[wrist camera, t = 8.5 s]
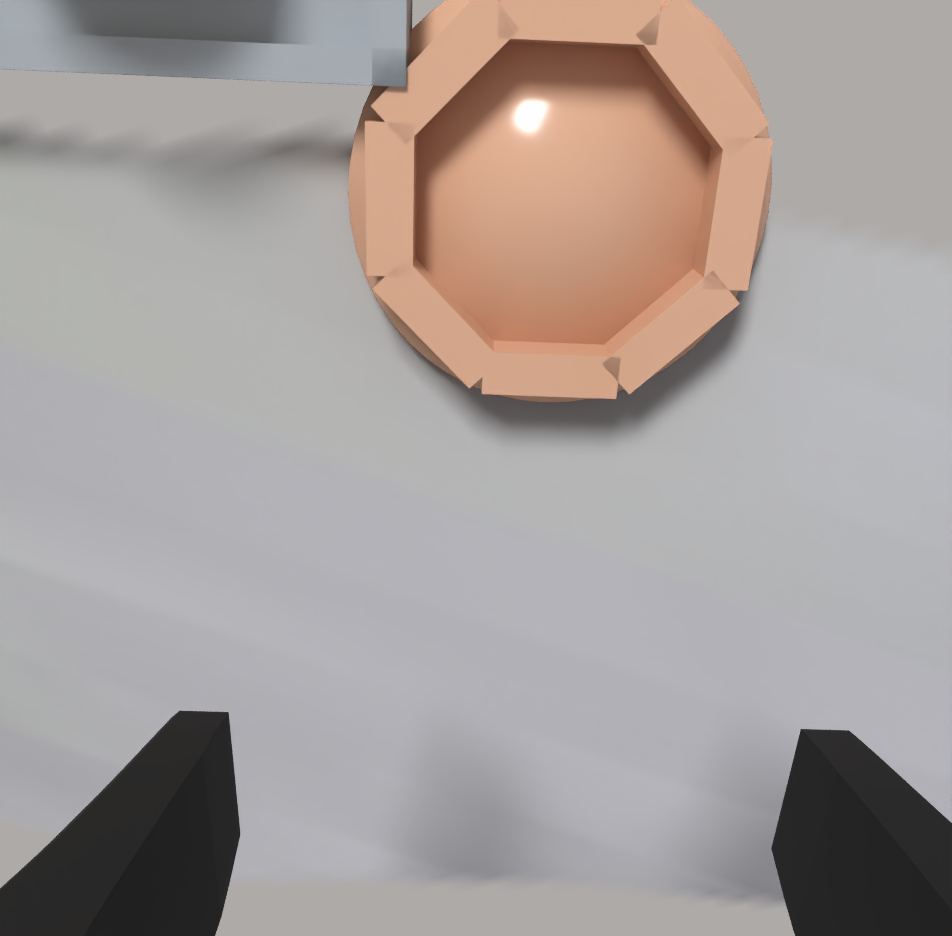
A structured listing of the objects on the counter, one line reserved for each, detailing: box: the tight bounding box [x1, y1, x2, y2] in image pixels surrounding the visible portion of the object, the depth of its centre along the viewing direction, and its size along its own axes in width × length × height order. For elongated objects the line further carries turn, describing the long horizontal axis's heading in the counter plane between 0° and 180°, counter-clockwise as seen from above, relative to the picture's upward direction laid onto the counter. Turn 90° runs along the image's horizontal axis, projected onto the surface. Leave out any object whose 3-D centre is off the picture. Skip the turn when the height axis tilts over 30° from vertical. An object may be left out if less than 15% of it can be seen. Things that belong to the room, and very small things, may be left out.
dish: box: [348, 0, 773, 402], centre depth 17 cm, size 8×8×1 cm
